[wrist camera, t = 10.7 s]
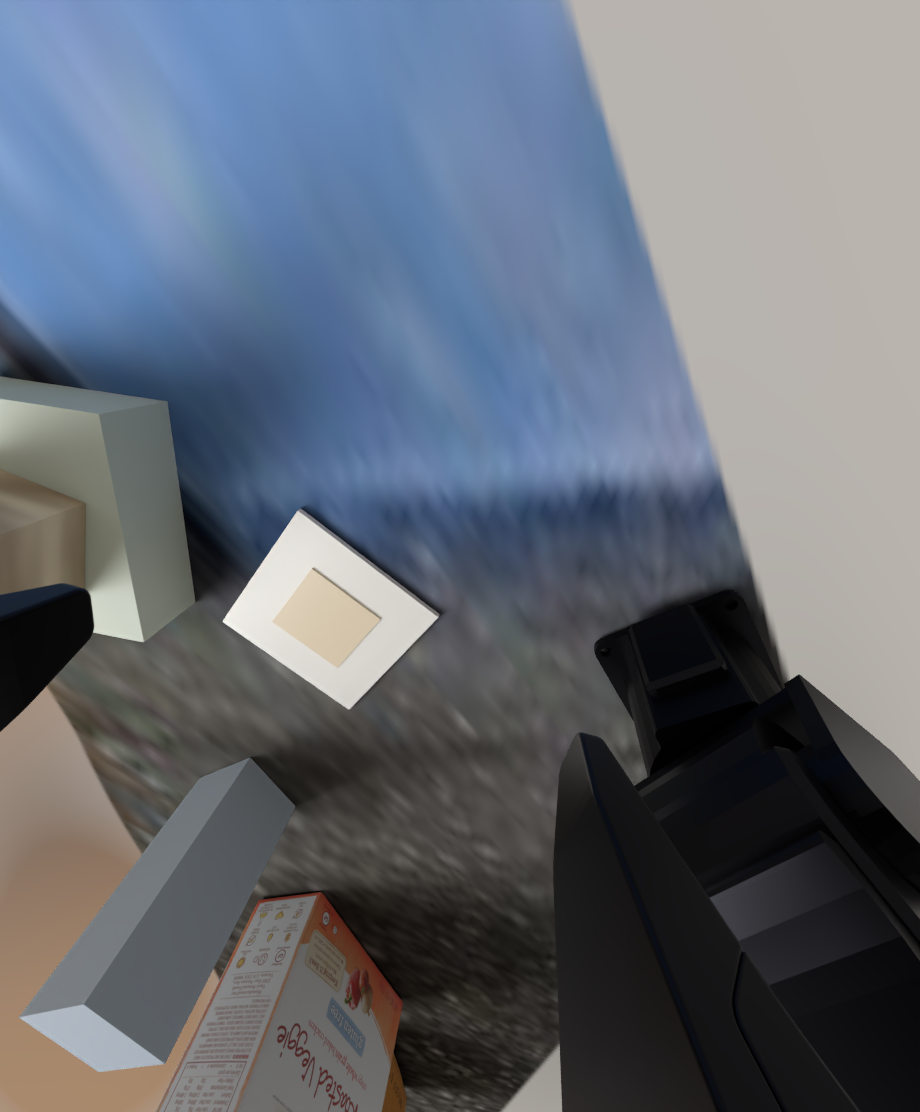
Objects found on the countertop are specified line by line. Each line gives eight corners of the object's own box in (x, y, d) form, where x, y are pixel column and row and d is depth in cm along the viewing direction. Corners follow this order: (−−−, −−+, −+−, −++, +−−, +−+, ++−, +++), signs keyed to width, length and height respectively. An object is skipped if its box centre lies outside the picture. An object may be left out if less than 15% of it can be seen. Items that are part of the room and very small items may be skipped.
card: (439, 614, 23) (438, 618, 23) (350, 705, 26) (348, 711, 26) (300, 508, 22) (296, 511, 22) (225, 618, 25) (221, 622, 25)
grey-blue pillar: (295, 806, 31) (164, 1063, 20) (245, 823, 32) (98, 1071, 21) (250, 757, 29) (83, 1004, 19) (200, 777, 31) (19, 1017, 20)
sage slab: (199, 598, 25) (144, 642, 22) (59, 572, 26) (-18, 610, 22) (173, 400, 21) (98, 413, 17) (6, 375, 22) (-99, 383, 18)
